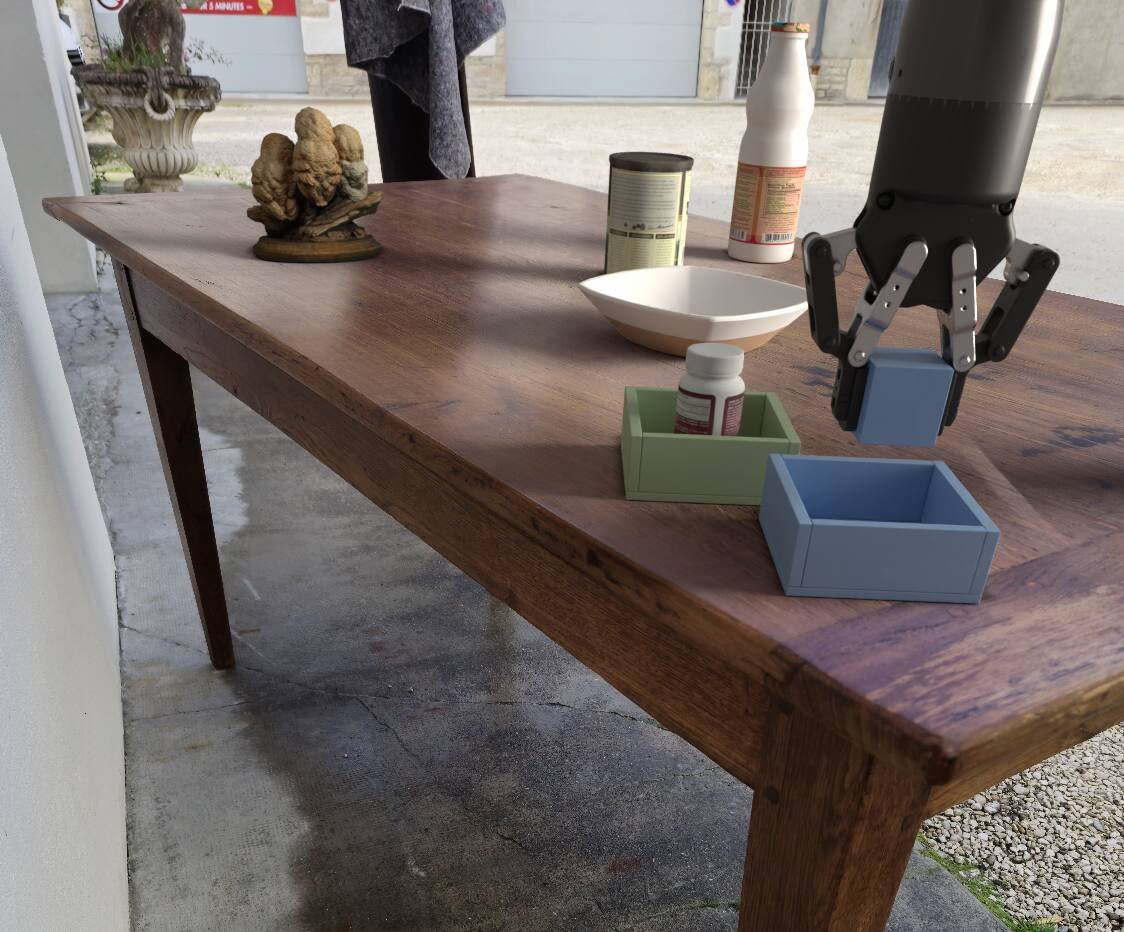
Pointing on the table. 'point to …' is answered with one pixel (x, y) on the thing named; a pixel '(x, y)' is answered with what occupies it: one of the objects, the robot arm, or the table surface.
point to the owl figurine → (313, 194)
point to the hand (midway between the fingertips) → (889, 428)
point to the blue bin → (875, 529)
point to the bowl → (694, 306)
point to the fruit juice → (773, 152)
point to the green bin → (700, 450)
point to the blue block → (903, 397)
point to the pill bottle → (711, 391)
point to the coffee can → (646, 210)
